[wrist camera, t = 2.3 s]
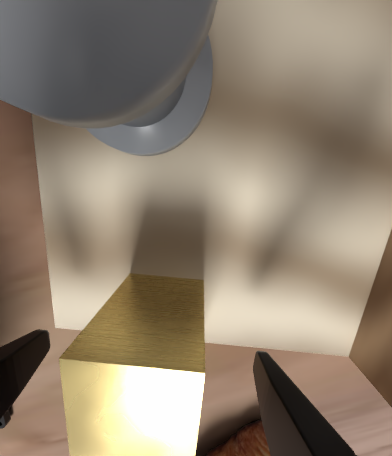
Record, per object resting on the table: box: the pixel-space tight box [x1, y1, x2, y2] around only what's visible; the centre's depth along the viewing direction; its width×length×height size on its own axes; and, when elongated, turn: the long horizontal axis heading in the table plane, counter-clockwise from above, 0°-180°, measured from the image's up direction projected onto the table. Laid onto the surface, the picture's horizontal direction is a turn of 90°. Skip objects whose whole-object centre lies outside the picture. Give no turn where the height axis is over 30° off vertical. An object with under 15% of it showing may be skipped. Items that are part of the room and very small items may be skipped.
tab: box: [59, 273, 205, 456], centre depth 8 cm, size 4×4×5 cm
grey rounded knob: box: [0, 0, 218, 156], centre depth 5 cm, size 6×6×5 cm
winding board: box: [31, 0, 392, 407], centre depth 7 cm, size 23×20×4 cm
